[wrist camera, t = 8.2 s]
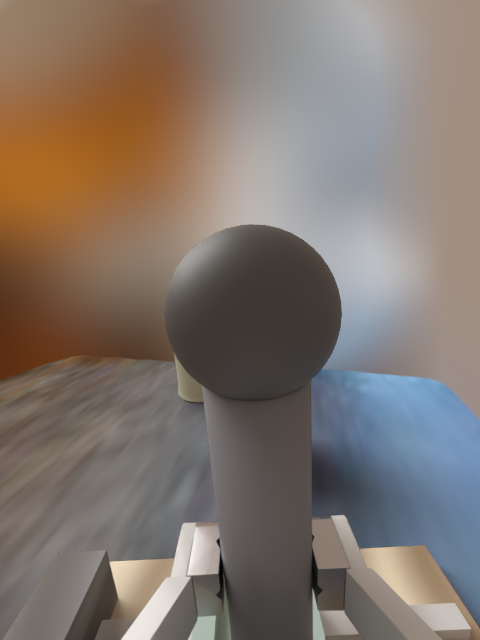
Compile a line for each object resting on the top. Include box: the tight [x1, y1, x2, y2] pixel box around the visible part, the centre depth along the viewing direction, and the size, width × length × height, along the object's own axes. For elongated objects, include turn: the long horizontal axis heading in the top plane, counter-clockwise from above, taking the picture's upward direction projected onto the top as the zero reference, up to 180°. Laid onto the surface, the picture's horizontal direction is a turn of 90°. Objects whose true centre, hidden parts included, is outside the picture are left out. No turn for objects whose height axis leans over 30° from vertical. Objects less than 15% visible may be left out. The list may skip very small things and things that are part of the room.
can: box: [174, 354, 204, 402], centre depth 44 cm, size 9×9×12 cm
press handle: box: [165, 225, 342, 640], centre depth 8 cm, size 6×8×20 cm
